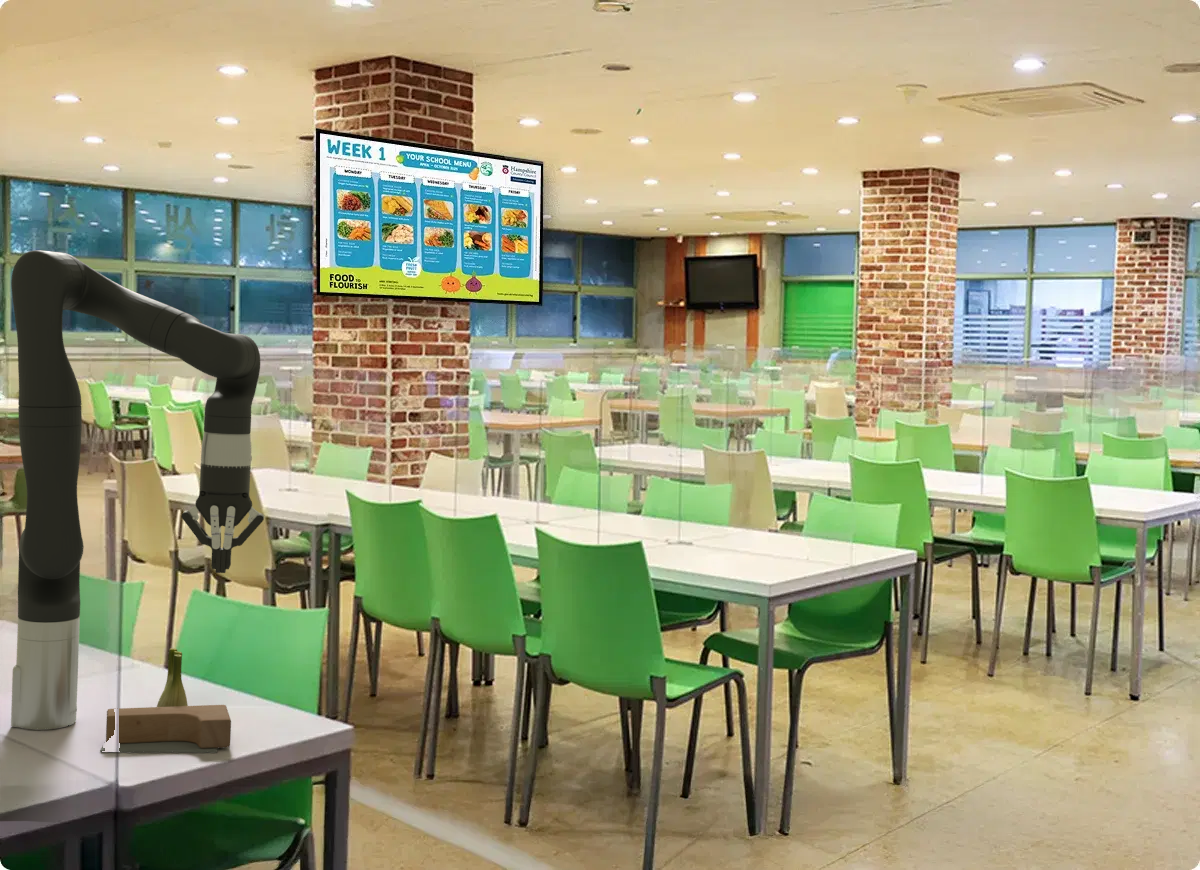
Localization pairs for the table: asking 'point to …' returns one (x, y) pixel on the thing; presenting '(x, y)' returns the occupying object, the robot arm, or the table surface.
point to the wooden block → (173, 725)
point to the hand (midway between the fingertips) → (220, 572)
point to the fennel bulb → (173, 683)
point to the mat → (163, 747)
